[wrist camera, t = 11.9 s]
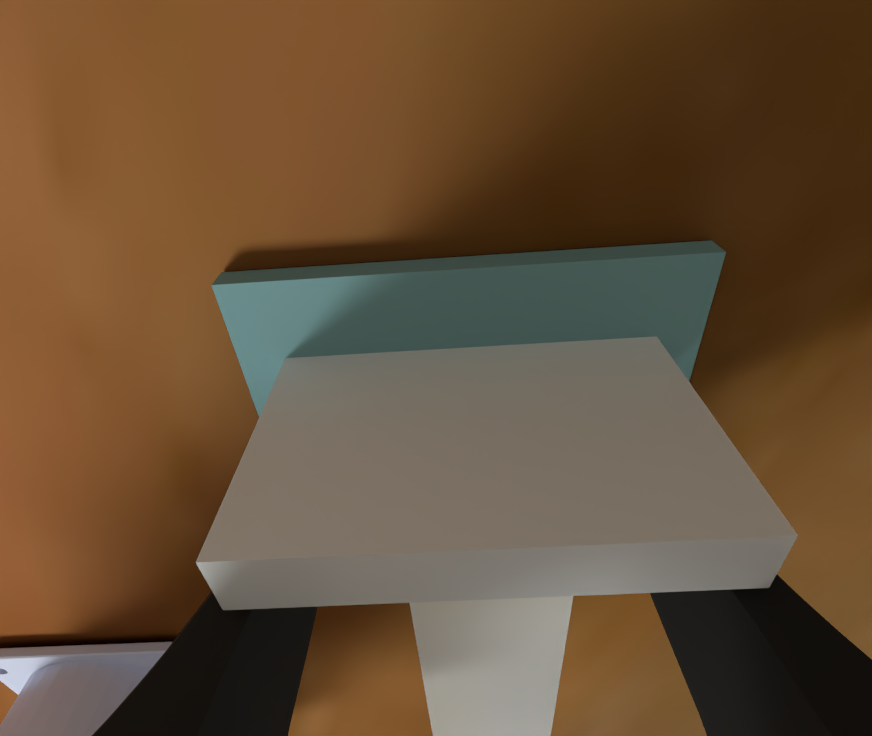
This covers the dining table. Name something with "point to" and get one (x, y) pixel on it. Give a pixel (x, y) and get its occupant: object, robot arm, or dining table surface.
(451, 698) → the white t-shaped block
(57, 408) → the dining table surface
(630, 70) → the dining table surface
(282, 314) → the teal rectangular board
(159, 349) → the dining table surface
